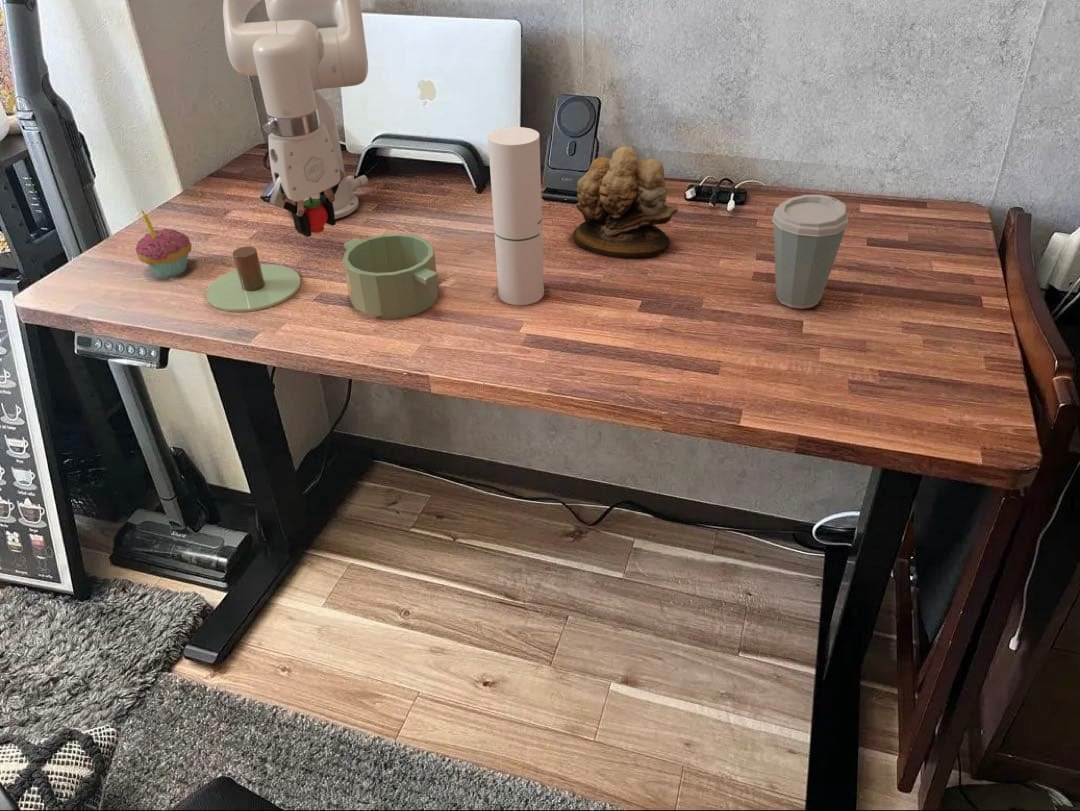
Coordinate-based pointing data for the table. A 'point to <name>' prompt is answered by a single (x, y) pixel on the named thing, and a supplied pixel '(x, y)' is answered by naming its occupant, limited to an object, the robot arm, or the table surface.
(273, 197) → the robot arm
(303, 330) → the table surface
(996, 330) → the table surface
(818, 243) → the disposable coffee cup
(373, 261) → the pot
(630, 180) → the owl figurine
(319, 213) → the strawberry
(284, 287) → the lid
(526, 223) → the cylindrical container
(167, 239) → the sprinkled cake with candle
